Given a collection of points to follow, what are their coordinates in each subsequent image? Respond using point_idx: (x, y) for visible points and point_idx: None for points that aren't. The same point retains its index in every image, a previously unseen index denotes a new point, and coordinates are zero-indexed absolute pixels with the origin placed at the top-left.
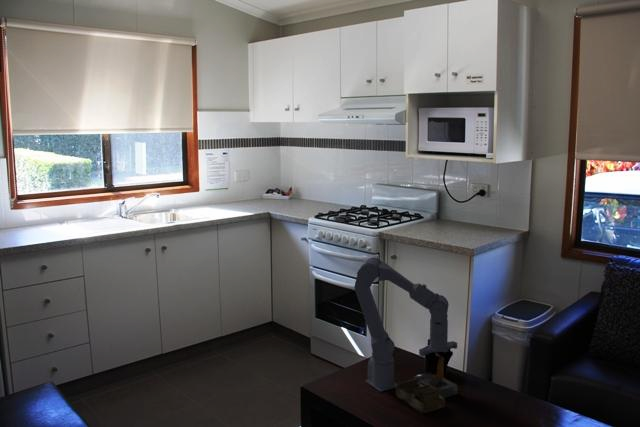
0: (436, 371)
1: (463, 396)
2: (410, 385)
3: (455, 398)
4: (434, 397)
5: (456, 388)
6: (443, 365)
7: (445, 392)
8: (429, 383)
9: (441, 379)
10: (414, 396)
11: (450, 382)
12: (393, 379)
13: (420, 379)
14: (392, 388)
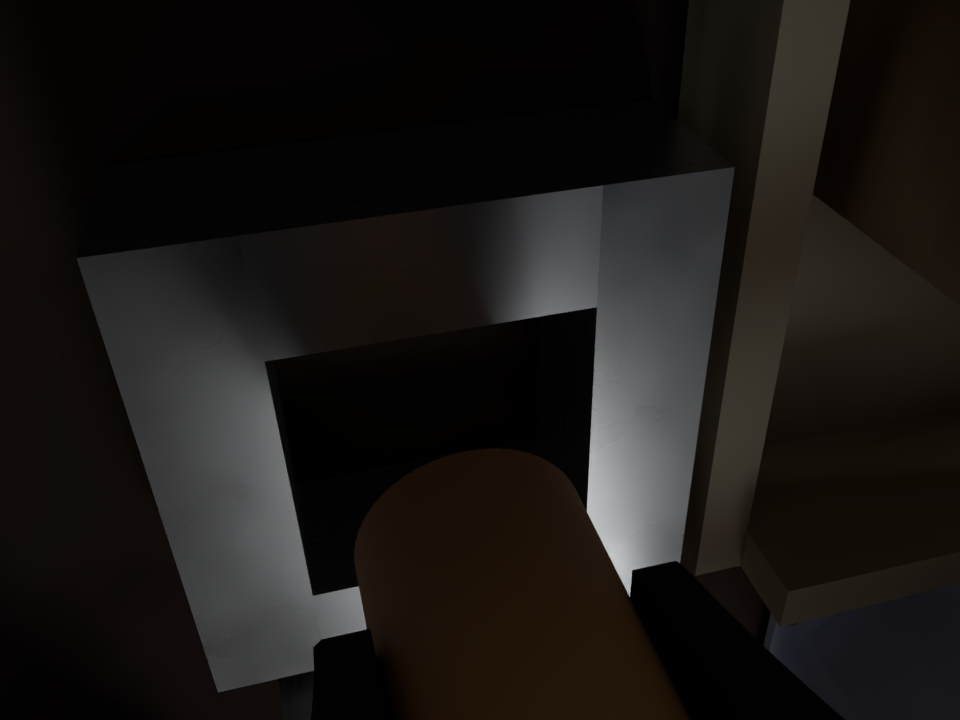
0: (687, 626)
1: (4, 12)
2: (866, 504)
3: (247, 6)
4: None
5: (115, 218)
6: None
7: (447, 167)
8: (591, 486)
9: (469, 458)
10: (880, 301)
11: (170, 425)
12: (886, 678)
13: None
14: None
